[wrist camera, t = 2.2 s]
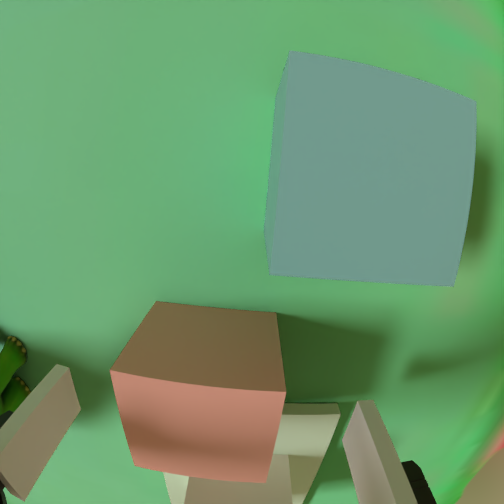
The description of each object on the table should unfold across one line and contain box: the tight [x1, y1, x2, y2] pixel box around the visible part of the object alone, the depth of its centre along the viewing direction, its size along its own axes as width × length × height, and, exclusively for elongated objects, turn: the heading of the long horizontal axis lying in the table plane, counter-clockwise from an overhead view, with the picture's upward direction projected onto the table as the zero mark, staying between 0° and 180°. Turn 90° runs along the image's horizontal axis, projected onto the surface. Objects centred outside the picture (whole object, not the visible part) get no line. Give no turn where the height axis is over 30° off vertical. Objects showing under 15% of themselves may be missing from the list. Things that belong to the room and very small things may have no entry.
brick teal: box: [264, 51, 476, 287], centre depth 10 cm, size 6×6×6 cm
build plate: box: [163, 403, 341, 504], centre depth 15 cm, size 14×11×7 cm
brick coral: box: [110, 301, 286, 483], centre depth 13 cm, size 6×6×6 cm
